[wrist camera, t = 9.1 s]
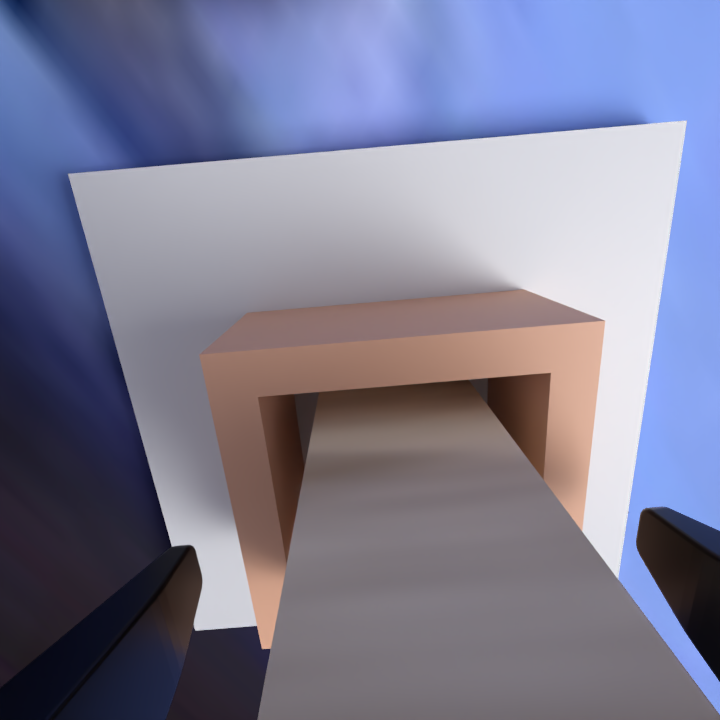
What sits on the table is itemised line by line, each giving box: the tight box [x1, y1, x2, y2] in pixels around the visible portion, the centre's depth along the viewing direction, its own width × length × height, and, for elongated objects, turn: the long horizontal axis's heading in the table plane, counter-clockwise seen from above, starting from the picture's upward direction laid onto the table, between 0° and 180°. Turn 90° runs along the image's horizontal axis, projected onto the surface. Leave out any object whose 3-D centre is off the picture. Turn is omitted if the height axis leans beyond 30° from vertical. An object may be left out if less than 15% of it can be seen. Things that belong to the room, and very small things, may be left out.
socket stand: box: [68, 121, 687, 649], centre depth 12 cm, size 16×16×5 cm
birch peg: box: [258, 380, 720, 720], centre depth 8 cm, size 4×4×10 cm
